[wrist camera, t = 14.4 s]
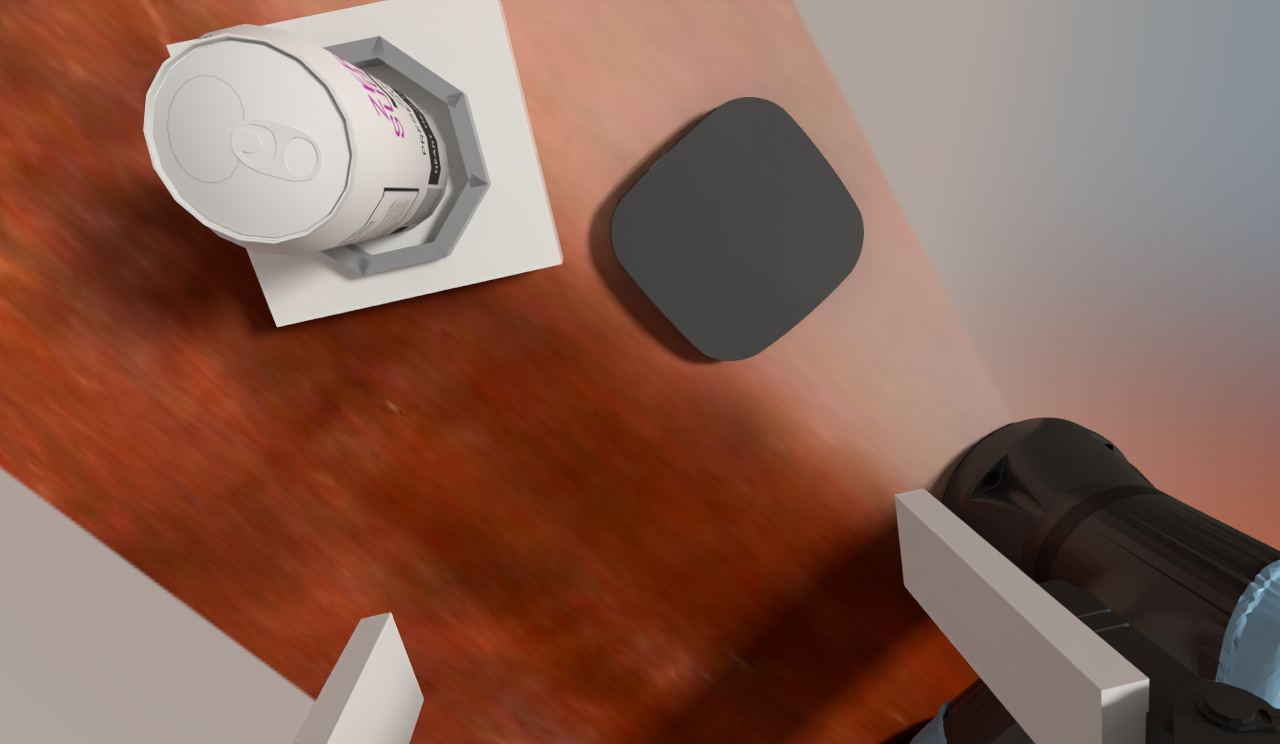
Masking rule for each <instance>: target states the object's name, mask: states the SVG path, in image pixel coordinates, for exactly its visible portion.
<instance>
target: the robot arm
mask: <svg viewBox="0 0 1280 744" xmlns="http://www.w3.org/2000/svg"><path fill="white" fill-rule="evenodd" d="M895 503H896V513H897V522H898V531H899V540H900V550H901V559H902V568H903V578H904V586H905V587H906V588H907V590H908V591H909V592H910V593H911V594H912V596H913V597H914V598H915V599H916V600H917V602H918V603H919V604H920V605H921V606H922V608H923V609H924V610H925V611H926V613H927V614H928V615H929V616H930V617H931V619H932V620H933V621H934V622H935V623H936V625H937V626H938V627H939V628H940V629H941V631H942V632H943V633H944V634H945V635H946V637H947V638H948V639H949V640H950V641H951V643H952V644H953V645H954V646H955V647H956V649H957V650H958V651H959V652H960V653H961V655H962V656H963V657H964V658H965V659H966V661H967V662H968V663H969V664H970V666H971V667H972V668H973V669H974V670H975V672H976V673H977V674H978V675H979V676H980V678H979V679H977V680H976V681H975V682H974V683H973V684H971V685H970V686H969V687H968V688H966V689H965V690H964V691H963V692H962V693H960V694H959V695H958V696H957V697H956V698H954V699H953V700H950V701H948V702H945V703H944V704H943V705H942V706H941V707H940V710H939V712H938V714H937V715H936V716H935V717H934V718H933V719H932V720H931V721H930V722H929V723H928V724H927V725H926V726H925V727H924V728H923V729H922V730H921V731H920V732H919V733H918V734H917V735H916V736H915V737H914V738H913V739H912V741H911V743H910V744H1280V551H1279V550H1277V549H1275V548H1273V547H1271V546H1269V545H1267V544H1265V543H1263V542H1261V541H1259V540H1257V539H1255V538H1253V537H1251V536H1249V535H1247V534H1245V533H1243V532H1240V531H1239V530H1237V529H1235V528H1233V527H1231V526H1229V525H1227V524H1225V523H1223V522H1221V521H1219V520H1217V519H1215V518H1213V517H1211V516H1209V515H1207V514H1205V513H1203V512H1201V511H1199V510H1197V509H1195V508H1193V507H1191V506H1189V505H1187V504H1185V503H1183V502H1181V501H1179V500H1177V499H1176V498H1173V497H1171V496H1169V495H1168V494H1165V493H1164V492H1162V491H1160V490H1158V489H1156V488H1155V487H1154V486H1153V485H1152V484H1151V483H1150V482H1149V480H1147V478H1145V476H1143V474H1142V473H1140V471H1139V470H1138V469H1137V468H1136V467H1134V466H1133V465H1132V464H1131V463H1129V462H1128V461H1127V459H1126V457H1125V456H1124V455H1123V454H1122V453H1121V451H1120V450H1119V449H1118V448H1117V447H1116V446H1115V445H1114V444H1112V443H1111V442H1110V441H1109V440H1107V439H1106V438H1104V437H1103V436H1101V435H1100V434H1098V433H1096V432H1094V431H1092V430H1089V429H1087V428H1084V427H1083V426H1081V425H1079V424H1076V423H1074V422H1071V421H1068V420H1064V419H1059V418H1034V419H1028V420H1024V421H1020V422H1017V423H1014V424H1011V425H1009V426H1007V427H1004V428H1002V429H1000V430H999V431H997V432H995V433H993V434H992V435H990V436H989V437H987V438H986V439H985V440H983V441H982V442H981V443H979V444H978V445H977V446H976V447H975V448H974V449H973V450H972V451H971V452H970V453H969V454H968V455H967V456H966V457H965V458H964V460H963V461H962V462H961V464H960V465H959V466H958V468H957V469H956V471H955V473H954V474H953V476H952V478H951V480H950V482H949V484H948V487H947V489H946V492H945V495H944V499H943V504H942V503H940V502H939V501H938V500H937V499H936V498H935V497H933V496H932V495H931V494H930V493H929V492H927V491H926V490H925V489H924V488H922V489H917V490H913V491H909V492H905V493H900V494H896V495H895ZM423 701H424V698H423V696H422V693H421V690H420V688H419V685H418V682H417V680H416V677H415V674H414V672H413V669H412V667H411V664H410V661H409V659H408V656H407V653H406V651H405V648H404V645H403V643H402V640H401V638H400V635H399V632H398V630H397V627H396V624H395V622H394V619H393V616H392V614H391V612H390V613H385V614H381V615H377V616H372V617H368V618H364V619H361V620H360V622H359V624H358V625H357V627H356V629H355V631H354V633H353V635H352V636H351V638H350V640H349V642H348V644H347V645H346V647H345V649H344V651H343V653H342V655H341V656H340V658H339V660H338V662H337V664H336V665H335V667H334V669H333V671H332V673H331V674H330V676H329V678H328V680H327V682H326V684H325V685H324V687H323V689H322V691H321V693H320V694H319V696H318V698H317V700H316V702H315V704H314V706H313V707H312V709H311V711H310V713H309V715H308V716H307V718H306V720H305V722H304V724H303V725H302V727H301V729H300V731H299V733H298V734H297V736H296V738H295V740H294V742H293V744H409V743H410V740H411V737H412V734H413V731H414V728H415V725H416V722H417V719H418V716H419V713H420V710H421V707H422V704H423Z"/></svg>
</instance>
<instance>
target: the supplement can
mask: <svg viewBox="0 0 1280 744" xmlns="http://www.w3.org/2000/svg"><path fill="white" fill-rule="evenodd" d="M143 131H144V135H145V138H146V142H147V145H148V149H149V153H150V156H151V160H152V164H153V167H154V169H155V170H156V172H157V173H158V175H159V177H160V178H161V180H162V181H163V183H164V184H165V186H166V187H167V189H168V190H169V192H170V193H171V195H172V196H173V198H174V199H175V201H177V202H178V203H179V204H180V205H181V206H182V207H184V208H185V209H186V210H187V211H188V212H190V213H191V214H192V215H193V216H194V217H196V218H197V219H198V220H199V221H200V222H201V223H203V224H204V225H205V226H208V227H209V228H210V229H211V230H212V231H213V232H215V233H216V234H217V235H218V236H219V237H222V238H224V239H226V240H229V241H231V242H233V243H235V244H238V245H240V246H242V247H245V248H247V249H249V250H252V251H254V252H256V253H264V254H274V255H285V256H295V257H296V256H300V255H305V254H309V253H314V252H318V251H322V250H327V249H331V248H335V247H340V246H344V245H349V244H353V243H357V242H362V241H366V240H370V239H375V238H379V237H383V236H388V235H392V234H396V233H400V232H404V231H408V230H412V229H413V228H415V227H416V226H418V225H419V224H420V223H422V222H423V221H425V220H426V219H427V218H429V217H430V216H431V215H432V214H433V212H434V211H435V209H436V208H437V206H438V205H439V203H440V201H441V200H442V198H443V197H444V195H445V190H446V185H447V181H448V176H449V164H448V157H447V150H446V144H445V142H444V140H443V138H442V136H441V134H440V132H439V130H438V128H437V126H436V124H435V122H434V120H433V119H432V118H431V117H430V116H429V115H428V114H427V113H426V112H425V111H424V110H423V109H422V108H421V107H420V106H419V105H418V104H417V103H416V102H415V101H414V100H413V99H411V98H409V97H407V96H406V95H404V94H402V93H401V92H399V91H397V90H395V89H394V88H392V87H390V86H388V85H387V84H385V83H383V82H381V81H380V80H378V79H376V78H374V77H373V76H371V75H369V74H367V73H366V72H364V71H362V70H360V69H359V68H357V67H355V66H353V65H352V64H350V63H348V62H346V61H345V60H343V59H341V58H339V57H338V56H336V55H334V54H332V53H331V52H329V51H327V50H325V49H323V48H321V47H319V46H317V45H315V44H314V43H312V42H310V41H308V40H306V39H304V38H302V37H300V36H298V35H296V34H294V33H292V32H290V31H288V30H284V29H277V28H269V27H262V26H255V25H248V24H243V25H239V26H234V27H230V28H226V29H222V30H218V31H214V32H210V33H206V34H204V35H203V36H201V37H200V38H199V39H197V40H195V41H191V42H189V43H188V44H187V45H186V46H184V47H183V48H182V49H180V50H179V51H178V52H176V53H175V54H174V55H173V56H171V57H170V58H169V59H167V60H166V61H165V62H163V64H162V65H161V67H160V69H159V71H158V73H157V75H156V77H155V79H154V81H153V83H152V84H151V86H150V88H149V90H148V92H147V94H146V105H145V117H144V129H143Z"/></svg>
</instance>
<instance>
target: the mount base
mask: <svg viewBox="0 0 1280 744" xmlns="http://www.w3.org/2000/svg"><path fill="white" fill-rule="evenodd" d="M262 27H269V28H277V29H284V30H288V31H290V32H292V33H294V34H296V35H298V36H300V37H302V38H304V39H306V40H308V41H310V42H312V43H314V44H315V45H317V46H319V47H321V48H323V49H325V50H327V51H329V52H331V53H332V54H334V55H336V56H338V57H339V58H341V59H343V60H345V61H346V62H348V63H350V64H352V65H353V66H355V67H357V68H359V69H360V70H362V71H364V72H366V73H367V74H369V75H371V76H373V77H374V78H376V79H378V80H380V81H381V82H383V83H385V84H387V85H388V86H390V87H392V88H394V89H395V90H397V91H399V92H401V93H402V94H404V95H406V96H407V97H409V98H411V99H413V100H414V101H415V102H416V103H417V104H418V105H419V106H420V107H421V108H422V109H423V110H424V111H425V112H426V113H427V114H428V115H429V116H430V117H431V118H432V119H433V120H434V122H435V124H436V126H437V128H438V130H439V132H440V134H441V136H442V138H443V140H444V142H445V144H446V150H447V157H448V164H449V176H448V181H447V185H446V190H445V195H444V197H443V198H442V200H441V201H440V203H439V205H438V206H437V208H436V209H435V211H434V212H433V214H432V215H431V216H430V217H429V218H427V219H426V220H425V221H423V222H422V223H420V224H419V225H418V226H416V227H415V228H413V229H412V230H408V231H404V232H400V233H396V234H392V235H388V236H383V237H379V238H375V239H370V240H366V241H362V242H357V243H353V244H349V245H344V246H340V247H335V248H331V249H327V250H322V251H318V252H314V253H309V254H305V255H300V256H296V257H295V256H285V255H274V254H264V253H256V252H254V251H252V250H249V249H247V248H246V249H247V252H248V255H249V257H250V260H251V262H252V265H253V267H254V270H255V272H256V275H257V277H258V280H259V283H260V285H261V288H262V290H263V293H264V295H265V298H266V300H267V303H268V305H269V308H270V311H271V313H272V316H273V318H274V321H275V323H276V326H277V327H280V326H285V325H289V324H294V323H298V322H303V321H307V320H312V319H316V318H321V317H325V316H330V315H334V314H339V313H343V312H348V311H352V310H357V309H361V308H366V307H370V306H375V305H379V304H384V303H388V302H393V301H397V300H402V299H406V298H411V297H415V296H420V295H424V294H429V293H433V292H438V291H442V290H447V289H451V288H456V287H460V286H465V285H469V284H474V283H478V282H483V281H487V280H492V279H496V278H501V277H505V276H510V275H514V274H519V273H523V272H528V271H532V270H537V269H542V268H546V267H551V266H555V265H560V264H562V261H563V255H562V251H561V247H560V243H559V238H558V234H557V230H556V226H555V222H554V218H553V214H552V210H551V205H550V201H549V197H548V193H547V189H546V185H545V181H544V177H543V172H542V168H541V164H540V160H539V156H538V152H537V148H536V144H535V139H534V135H533V131H532V127H531V123H530V119H529V115H528V111H527V106H526V102H525V98H524V94H523V90H522V86H521V82H520V78H519V73H518V69H517V65H516V61H515V57H514V53H513V49H512V45H511V41H510V36H509V32H508V28H507V24H506V20H505V16H504V12H503V8H502V3H501V0H387V1H382V2H377V3H372V4H367V5H362V6H357V7H352V8H347V9H342V10H337V11H333V12H328V13H323V14H318V15H313V16H308V17H303V18H298V19H293V20H288V21H283V22H278V23H274V24H269V25H264V26H262ZM195 40H197V39H195ZM195 40H190V41H185V42H180V43H175V44H170V45H166V46H167V48H168V51H169V53H170V56H173V55H174V54H175V53H176V52H178V51H179V50H180V49H182V48H183V47H184V46H186V45H187V44H188V43H189V42H191V41H195Z"/></svg>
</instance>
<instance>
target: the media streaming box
mask: <svg viewBox="0 0 1280 744" xmlns="http://www.w3.org/2000/svg"><path fill="white" fill-rule="evenodd" d="M610 237H611V243H612V247H613V250H614V253H615V255H616V257H617V259H618V261H619V262H620V263H621V265H622V266H623V267H624V269H625V270H626V271H627V272H628V273H629V275H630V276H631V277H632V278H633V280H634V281H635V282H636V283H637V284H638V286H639V287H640V288H641V289H642V290H643V292H644V293H645V294H646V295H647V296H648V297H649V298H650V300H651V301H652V302H653V303H654V304H655V305H656V306H657V307H658V309H659V310H660V311H661V312H662V313H663V314H664V315H665V316H666V317H667V318H668V319H669V320H670V322H671V323H672V324H673V325H674V326H675V327H676V328H677V329H678V330H679V331H680V332H681V333H682V334H683V335H684V336H685V337H686V338H687V339H688V340H689V341H690V342H691V343H692V344H693V345H694V346H695V347H696V348H697V349H698V350H700V351H701V352H702V353H703V354H705V355H707V356H709V357H711V358H714V359H718V360H724V361H736V360H742V359H746V358H749V357H752V356H754V355H757V354H758V353H760V352H761V351H763V350H764V349H766V348H767V347H768V346H770V345H771V344H772V343H774V342H775V341H776V340H778V339H779V338H780V337H782V336H783V335H784V334H786V333H787V332H788V331H789V330H791V329H792V328H793V327H794V326H795V325H797V324H798V323H799V322H800V321H801V320H803V319H804V318H805V317H806V316H807V315H808V314H809V313H811V312H812V311H813V310H814V309H815V308H816V307H817V306H818V305H819V304H820V303H821V302H822V301H824V300H825V299H826V298H827V297H828V296H829V295H830V294H831V293H832V292H833V291H834V290H835V289H836V288H837V287H838V286H839V285H840V284H841V282H842V281H843V280H844V279H845V278H846V277H847V276H848V275H849V274H850V273H851V272H852V270H853V268H854V267H855V265H856V263H857V261H858V259H859V256H860V253H861V249H862V245H863V237H864V228H863V220H862V216H861V213H860V211H859V209H858V207H857V205H856V204H855V202H854V200H853V199H852V197H851V195H850V194H849V192H848V190H847V189H846V187H845V186H844V184H843V183H842V181H841V180H840V178H839V177H838V175H837V174H836V172H835V171H834V170H833V168H832V167H831V165H830V164H829V163H828V161H827V160H826V159H825V157H824V156H823V155H822V153H821V152H820V151H819V149H818V148H817V147H816V146H815V144H814V143H813V142H812V141H811V139H810V138H809V137H808V136H807V135H806V133H805V132H804V131H803V130H802V129H801V128H800V126H799V125H798V124H797V123H796V122H795V121H794V120H793V119H792V118H791V116H790V115H789V114H788V113H787V112H786V111H785V110H784V109H783V108H781V107H780V106H778V105H777V104H775V103H773V102H770V101H768V100H765V99H761V98H755V97H744V98H738V99H734V100H731V101H728V102H726V103H724V104H722V105H721V106H719V107H717V108H716V109H714V110H713V111H712V112H711V113H709V114H708V115H707V116H706V117H705V118H703V119H702V120H701V121H700V122H699V123H698V124H696V125H695V126H694V127H693V128H692V129H691V130H690V131H688V132H687V133H686V134H685V135H684V136H683V137H682V138H681V139H680V140H678V141H677V142H676V143H675V144H674V145H673V146H672V147H671V148H670V149H669V150H668V151H667V152H666V153H665V154H663V155H662V156H661V157H660V158H659V159H658V160H657V161H656V162H655V163H654V164H653V165H652V166H651V167H650V168H649V169H648V170H647V171H646V172H645V173H644V174H643V175H642V176H641V177H640V178H639V179H638V180H637V181H636V182H635V183H634V184H633V186H632V187H631V188H630V189H629V190H628V191H627V192H626V193H625V194H624V195H623V196H622V197H621V198H620V200H619V201H618V203H617V205H616V207H615V209H614V212H613V215H612V219H611V225H610Z"/></svg>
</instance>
